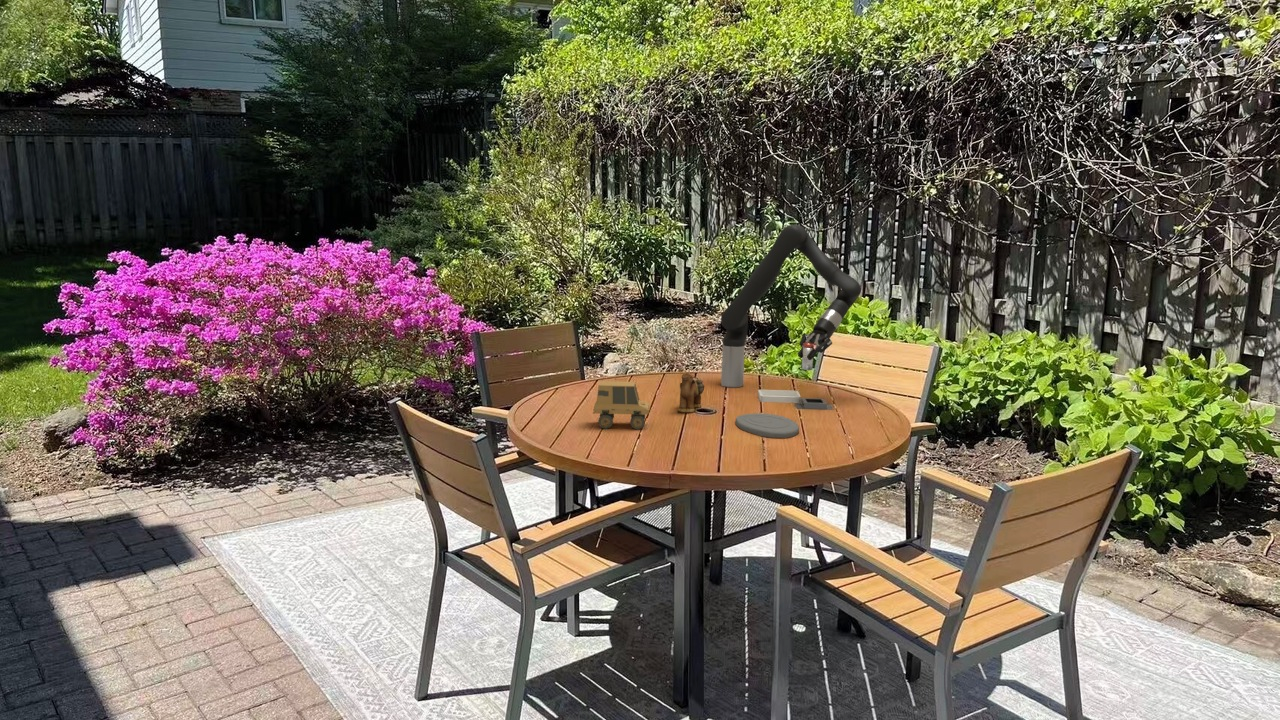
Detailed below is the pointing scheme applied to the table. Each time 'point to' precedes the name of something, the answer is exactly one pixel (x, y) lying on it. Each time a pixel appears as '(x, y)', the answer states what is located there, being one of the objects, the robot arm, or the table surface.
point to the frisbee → (767, 425)
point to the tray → (779, 396)
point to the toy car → (620, 403)
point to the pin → (806, 350)
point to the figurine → (690, 393)
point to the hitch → (813, 404)
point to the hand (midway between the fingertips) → (804, 357)
